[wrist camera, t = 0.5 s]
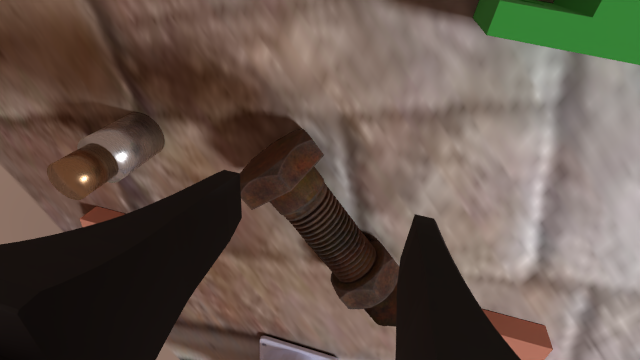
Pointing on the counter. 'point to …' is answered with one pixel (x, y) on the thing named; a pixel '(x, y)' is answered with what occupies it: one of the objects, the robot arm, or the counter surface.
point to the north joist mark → (98, 216)
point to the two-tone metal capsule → (107, 155)
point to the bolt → (323, 224)
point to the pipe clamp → (567, 25)
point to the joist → (522, 336)
